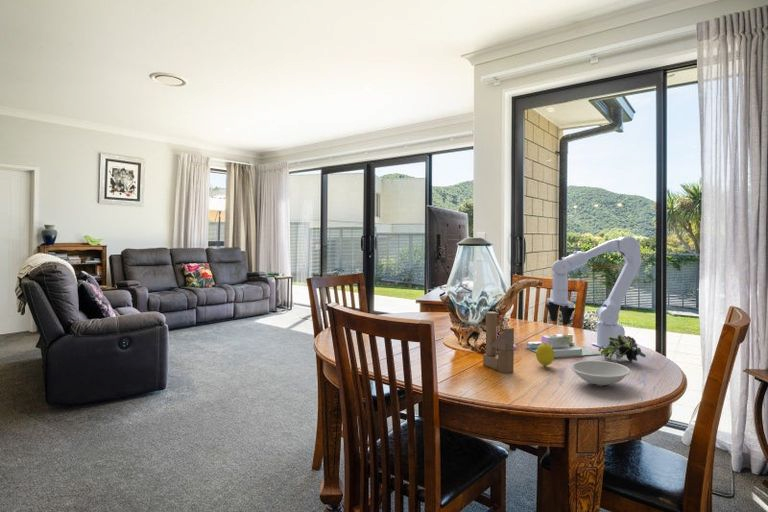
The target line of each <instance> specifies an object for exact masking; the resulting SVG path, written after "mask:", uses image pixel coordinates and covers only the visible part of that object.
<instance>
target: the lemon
mask: <svg viewBox="0 0 768 512" xmlns="http://www.w3.org/2000/svg"><path fill="white" fill-rule="evenodd" d="M535 355H536V356H535V357H536V360H537V362H538V364H539V365H542V366H543V367H544V366H545V367H544V368H546V367H547V366H549V365H551V364H552V363H553V362H554V359H555V358H554V352H553V349H552V347H551V346H550V345H548V344H547V343H544V344H541V345H539V346H538V348H537V351H536V353H535Z"/></svg>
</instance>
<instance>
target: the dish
mask: <svg viewBox="0 0 768 512" xmlns="http://www.w3.org/2000/svg"><path fill="white" fill-rule="evenodd" d="M570 369H571V371H573V372H574V373H575V374H576V375H577V376H578V377H579V378H580V379H581V380H583V381H585V382H588V383H590V384H594V385H596V386H599V387H603V386H607V385H608V386H609V385H614V384H616V383H619V382H620V381H622V380H623V379H624V378H625V377H626V376H628V375H630V374H631V368H629V367H628V366H626V365H624V364H621V363H618V362H617V363H616V362H614V361H613V362H611V361H607V360H581V361H575V362H573V363H571V364H570Z"/></svg>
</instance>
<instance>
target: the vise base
mask: <svg viewBox="0 0 768 512" xmlns="http://www.w3.org/2000/svg"><path fill="white" fill-rule="evenodd" d="M524 348H525V349H526V350H529V351H531V352H533V353H535V354H536V351H537V349H529V348H527V346H524ZM553 352H554V359H560V358H559V357H565V358H573V357H572V356H579V357H586V356H585V355H593V356H601V353H598V352H595V351H592V350H590V349H587V348H584V347H582V346H579V345H576V344H574V346H569V348H564V349H553Z"/></svg>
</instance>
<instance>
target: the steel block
mask: <svg viewBox="0 0 768 512" xmlns="http://www.w3.org/2000/svg"><path fill="white" fill-rule="evenodd" d="M569 338H570V337H569V336H567V334H566V335H565V334H563V333H561V334H558V333H557V334H545V335H544V334H543V335H541V339H540V340H541V341H540V342H541V344H544V343H547V344H548V345H550V346H551V347H552V349H564V348H569Z"/></svg>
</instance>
